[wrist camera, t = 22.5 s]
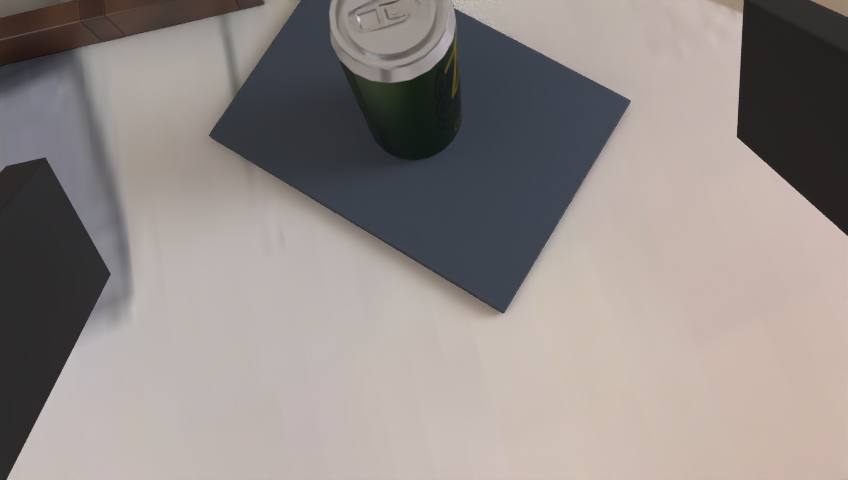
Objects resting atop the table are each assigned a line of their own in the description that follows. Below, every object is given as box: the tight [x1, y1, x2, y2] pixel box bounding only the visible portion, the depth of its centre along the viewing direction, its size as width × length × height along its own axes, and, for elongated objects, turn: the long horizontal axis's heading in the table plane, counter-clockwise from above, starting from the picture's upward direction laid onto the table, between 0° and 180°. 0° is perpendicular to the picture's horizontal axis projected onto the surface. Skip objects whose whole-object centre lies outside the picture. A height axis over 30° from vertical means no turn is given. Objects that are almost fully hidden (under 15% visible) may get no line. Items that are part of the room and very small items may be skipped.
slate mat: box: [209, 0, 630, 313], centre depth 40 cm, size 20×14×1 cm
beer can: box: [329, 0, 462, 160], centre depth 34 cm, size 5×5×12 cm
